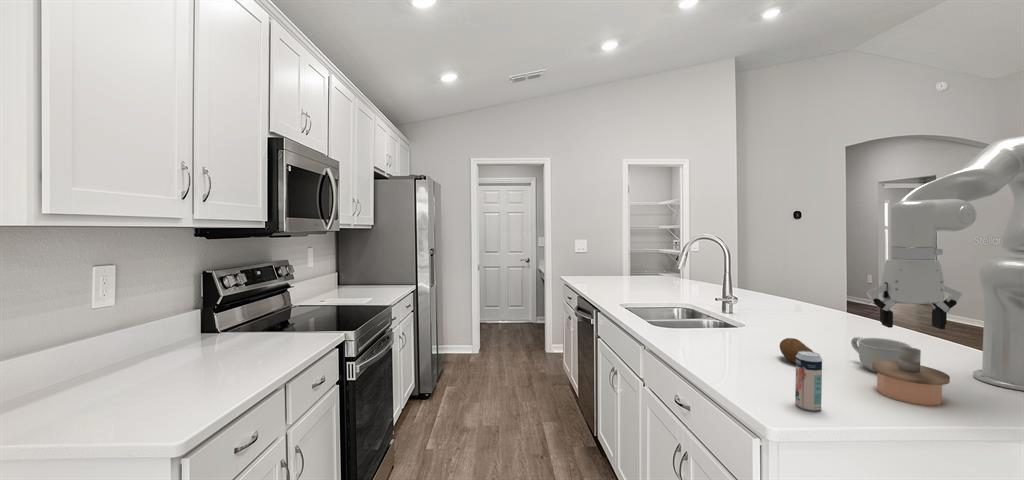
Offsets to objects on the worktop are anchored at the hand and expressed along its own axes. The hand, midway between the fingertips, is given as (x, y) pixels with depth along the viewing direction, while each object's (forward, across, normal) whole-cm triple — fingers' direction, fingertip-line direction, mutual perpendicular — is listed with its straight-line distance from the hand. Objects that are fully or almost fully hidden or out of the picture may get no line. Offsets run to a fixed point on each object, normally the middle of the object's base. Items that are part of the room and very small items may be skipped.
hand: (912, 327), depth 96 cm
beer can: (+15, +26, +15) cm, 34 cm away
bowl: (+16, +1, +1) cm, 16 cm away
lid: (+11, +1, 0) cm, 11 cm away
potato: (+16, +18, -18) cm, 30 cm away
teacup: (+17, -2, -18) cm, 25 cm away
